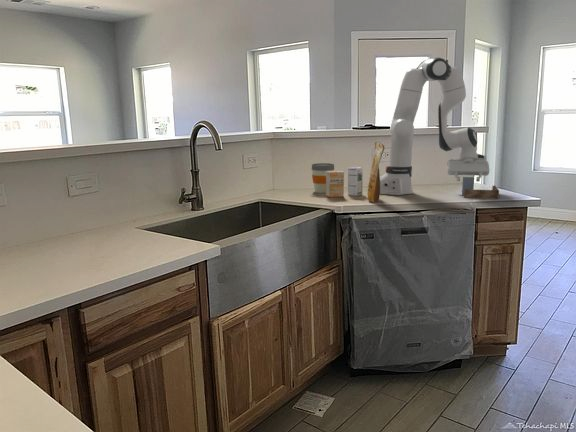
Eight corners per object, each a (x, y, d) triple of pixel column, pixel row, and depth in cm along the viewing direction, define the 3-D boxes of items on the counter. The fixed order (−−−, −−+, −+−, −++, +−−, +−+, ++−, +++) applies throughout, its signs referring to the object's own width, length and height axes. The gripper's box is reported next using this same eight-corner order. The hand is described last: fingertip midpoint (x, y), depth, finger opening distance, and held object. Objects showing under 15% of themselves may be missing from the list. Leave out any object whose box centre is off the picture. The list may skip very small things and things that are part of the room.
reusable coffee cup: (338, 192, 249) (338, 164, 245) (317, 193, 244) (317, 165, 241) (328, 189, 260) (328, 162, 257) (308, 190, 255) (307, 163, 252)
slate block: (462, 195, 232) (463, 178, 230) (461, 194, 237) (462, 176, 235) (472, 195, 231) (474, 178, 229) (472, 194, 235) (473, 177, 233)
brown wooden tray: (464, 197, 226) (464, 189, 225) (462, 192, 242) (463, 184, 241) (498, 198, 222) (499, 190, 221) (494, 193, 237) (495, 185, 236)
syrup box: (357, 196, 236) (357, 168, 233) (347, 195, 239) (347, 167, 236) (362, 194, 240) (363, 167, 237) (352, 193, 244) (353, 166, 241)
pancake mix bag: (380, 196, 233) (381, 141, 227) (383, 203, 214) (384, 143, 208) (366, 196, 234) (367, 141, 228) (368, 203, 215) (369, 143, 209)
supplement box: (329, 197, 232) (329, 172, 229) (325, 196, 236) (325, 171, 233) (344, 196, 234) (344, 171, 231) (340, 195, 238) (340, 170, 236)
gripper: (447, 155, 242) (447, 176, 235) (489, 156, 235) (490, 177, 228) (447, 163, 247) (446, 183, 240) (488, 163, 240) (488, 184, 233)
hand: (468, 180), depth 234 cm, fingers open, 8 cm apart
